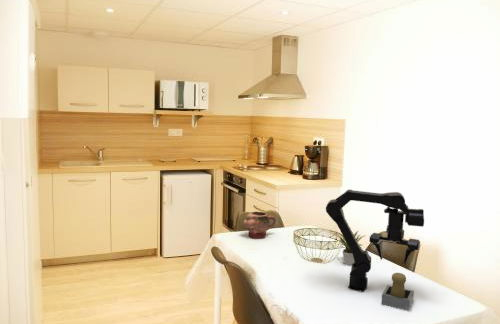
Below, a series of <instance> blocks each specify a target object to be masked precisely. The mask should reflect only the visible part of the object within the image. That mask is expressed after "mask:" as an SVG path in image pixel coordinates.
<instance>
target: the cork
mask: <svg viewBox="0 0 500 324" xmlns="http://www.w3.org/2000/svg"><path fill="white" fill-rule="evenodd" d="M406 277H407V276H406V275H405V274H404V273H402V272H394V273H392V275H391V281H392V283H391V286H392V288H391V293H390V295H392V296H396V297H401V298H405V289H406V288H405V287H406V286H405V284H406V282H407V278H406Z"/></svg>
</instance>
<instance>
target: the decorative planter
mask: <svg viewBox="0 0 500 324" xmlns="http://www.w3.org/2000/svg"><path fill="white" fill-rule="evenodd" d="M270 220H272V221H273V222H272V224H271V225H270ZM276 221H277V220H276V217H275V216H273V215H268V213H266V212H264V211H263V212H261V211H253V212H250V213H248V214H247V215H246V217H245V219H244V220H243V225H244V227H246V228H247V230H248V237H249V238H251V239H255V240H261V239H262V240H263V239H265V238H266V237H267V231H268V230H270V229H272V228H273V227H274V225H275V223H276Z"/></svg>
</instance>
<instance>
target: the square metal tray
mask: <svg viewBox="0 0 500 324" xmlns="http://www.w3.org/2000/svg"><path fill="white" fill-rule="evenodd" d="M391 288H392V285H390V284H387V285H386V286H385V288H384V290H383V292H382V293H381V304H382V305H381V306H385V305H386V307H389V306H390V308H393V309H398V308H399V309H398V310H402V309H403V310H402V311H406V310H407V311H406V312H410V310H411V307H412V305H413V302H414V294H415V290H412V289H406V288H405V298H401V297H396V296H392V295H390V293H391ZM411 304H412V305H411Z"/></svg>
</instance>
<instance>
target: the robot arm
mask: <svg viewBox="0 0 500 324" xmlns="http://www.w3.org/2000/svg"><path fill="white" fill-rule="evenodd" d="M351 201H353V202H354V201H355V202H363V203H372V204H380V205H382V206H385V207H386V208H384V209H383V212H384V213H385V214H388V218H387V226H386V230H385V233H386V234H387V235H386V236H383V234H382V233H377V232H373V233H371V235H370V236H369V243H372V245H373V246H375V248H376V250H377V253H378V256H379V258H380V260H383V242H384V243H390V244H395V245H396V244H397V245H401V246H402V245H403V246H407V247H406V250H405V255H404V265H406V264H407V263H408V262H407V261H408V259H409V257H410V255H411V253H414V252H415V251H419V249H420V247H421V241H420V240H419V239H415V238H409V239H408V240H406V239H404V238H405V229H404V222H405V223H406V224H407V226H412V227H421V228H423V227H424V225H425V218H424V217H425V215H424V214H425V213H424V211H425V210H424V209H423V208H418V209H417V208H409V206H408V205H407V203H406V200H405V197H404V195H403V194H402V193H401V192H399V191H392V192H384V193H381V192H379V193H378V192H369V191H362V190H353V189H347V190H345V192H343V193H342V194H340V195H339V196H338V197H336V198H335V199H330V200H329V201H328V202H327V204H326V206H325V211H326V213H327V215H328V216H329V217H330V218H331V220H332V221H333V222H334V223H335V224H336V226H337V227H338V229H339V231H340V234H342V235H343V237H344V238H345V240H346V242H347V244H348V246H349V248H350V250H351V252H352V254H353V257H354V261H355V263H353V264H352V265H351V267H350V268H351V269H350V272H349V283H348V284H349V285H348V286H347V289H350V290H353V291H358V292H364V291H365V290H367V288H368V280H369V279H368V277H367V275H368V273H369V272H370V271H371V268H372V256H371V255H370V254H369V252H368V249H365V250H364V249H362V247H361V246H359V244H360V243H359V241H358V242H357V240H356V238H357V237H356V236H354V234H355V233H354V232H353V231H352V228H351V226H350V225H349V223H348V222H347V220H346V218H345V213H344V210H343V208H344V207H345V206H346V205H347V204H349V202H351ZM342 235H341V236H342ZM355 237H356V238H355ZM345 240H344V241H345Z"/></svg>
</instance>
